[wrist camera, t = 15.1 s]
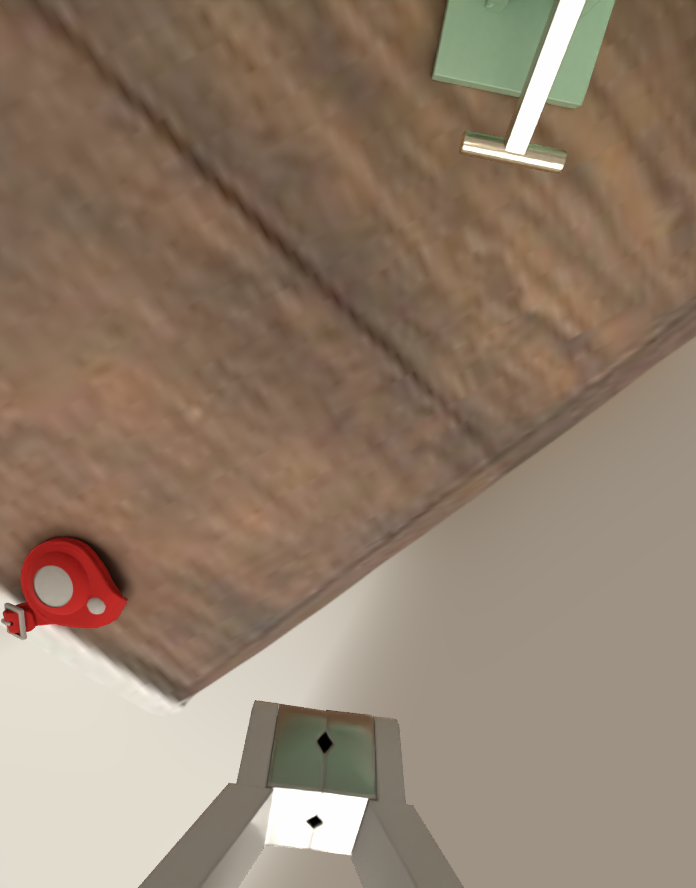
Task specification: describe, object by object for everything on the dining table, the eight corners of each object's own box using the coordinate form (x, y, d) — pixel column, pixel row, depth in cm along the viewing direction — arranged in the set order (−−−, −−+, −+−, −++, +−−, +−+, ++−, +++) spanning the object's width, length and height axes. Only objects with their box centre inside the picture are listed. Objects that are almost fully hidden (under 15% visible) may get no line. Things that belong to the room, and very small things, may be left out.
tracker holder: (29, 523, 44) (124, 584, 43) (64, 511, 48) (151, 566, 47) (-24, 633, 45) (66, 693, 45) (14, 612, 50) (97, 666, 49)
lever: (554, 162, 27) (560, 184, 26) (458, 143, 27) (458, 163, 26) (721, -208, 17) (746, -207, 16) (571, -243, 17) (583, -246, 16)
